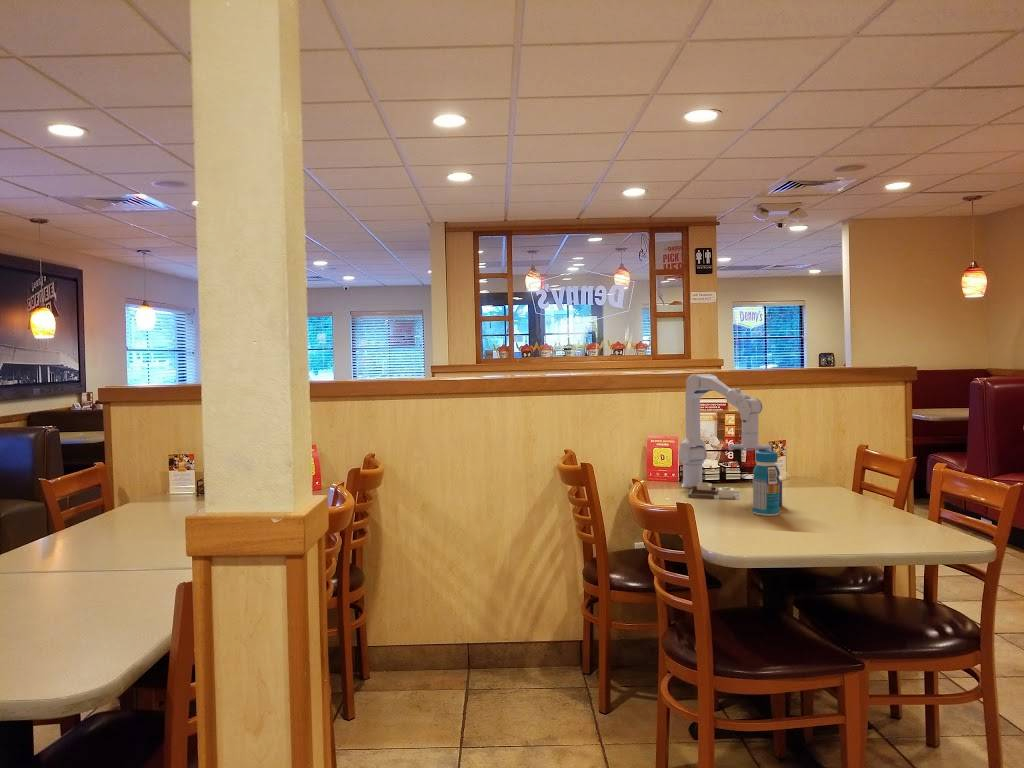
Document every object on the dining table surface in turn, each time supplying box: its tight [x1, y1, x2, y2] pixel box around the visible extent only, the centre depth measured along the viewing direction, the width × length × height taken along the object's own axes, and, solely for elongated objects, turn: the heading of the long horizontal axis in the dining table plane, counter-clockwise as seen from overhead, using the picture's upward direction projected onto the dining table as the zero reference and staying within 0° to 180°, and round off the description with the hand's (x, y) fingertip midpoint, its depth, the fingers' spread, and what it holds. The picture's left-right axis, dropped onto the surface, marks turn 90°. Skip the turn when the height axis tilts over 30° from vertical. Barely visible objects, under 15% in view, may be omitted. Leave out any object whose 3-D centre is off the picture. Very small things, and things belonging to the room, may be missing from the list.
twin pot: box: [697, 481, 713, 490], centre depth 281 cm, size 5×5×3 cm
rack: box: [686, 486, 741, 501], centre depth 276 cm, size 17×18×2 cm
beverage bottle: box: [751, 450, 781, 517], centre depth 244 cm, size 8×8×20 cm
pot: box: [718, 486, 734, 498], centre depth 271 cm, size 5×5×3 cm
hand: (749, 470), depth 269 cm, fingers open, 5 cm apart
